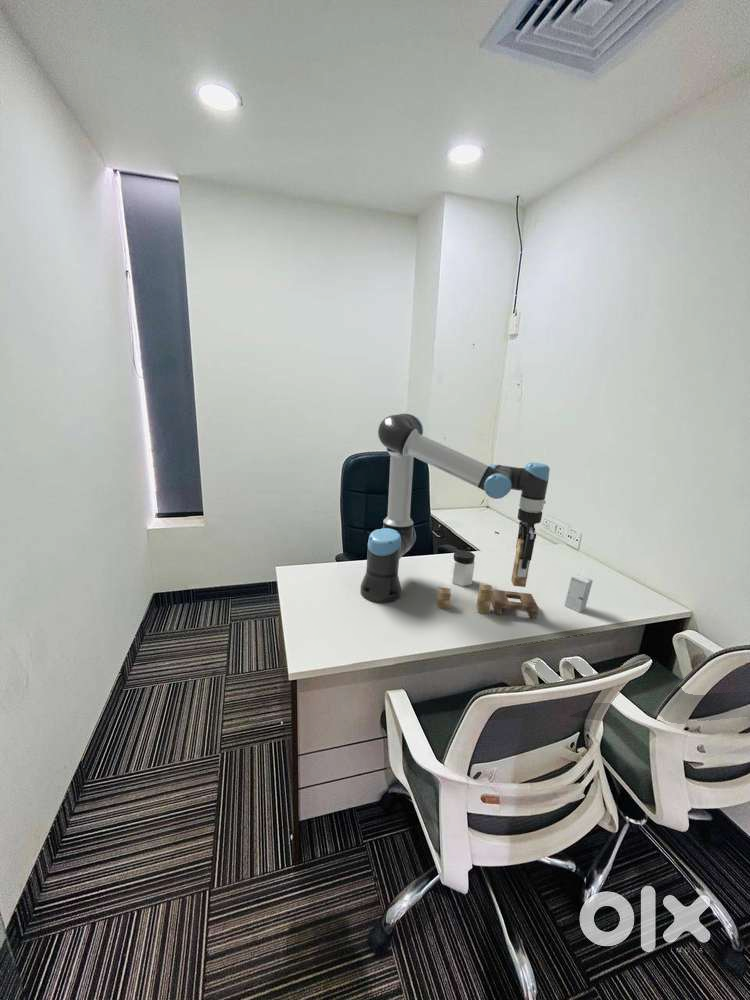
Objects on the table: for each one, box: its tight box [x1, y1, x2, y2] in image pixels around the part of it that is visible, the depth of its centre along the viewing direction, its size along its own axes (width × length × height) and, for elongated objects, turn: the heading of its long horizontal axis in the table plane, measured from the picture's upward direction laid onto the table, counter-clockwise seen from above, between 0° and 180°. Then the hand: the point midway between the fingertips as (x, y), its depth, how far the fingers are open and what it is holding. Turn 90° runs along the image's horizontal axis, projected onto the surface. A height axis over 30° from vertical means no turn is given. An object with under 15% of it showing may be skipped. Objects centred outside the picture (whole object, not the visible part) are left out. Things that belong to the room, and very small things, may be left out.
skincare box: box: [564, 573, 593, 613], centre depth 151 cm, size 6×4×12 cm
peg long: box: [511, 538, 531, 588], centre depth 143 cm, size 4×4×16 cm
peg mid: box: [475, 583, 494, 615], centre depth 145 cm, size 4×4×9 cm
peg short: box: [436, 587, 452, 610], centre depth 147 cm, size 4×4×6 cm
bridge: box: [491, 589, 539, 620], centre depth 148 cm, size 14×10×4 cm
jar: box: [449, 549, 476, 587], centre depth 166 cm, size 9×8×12 cm
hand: (520, 573), depth 145 cm, fingers closed on peg long, 4 cm apart
